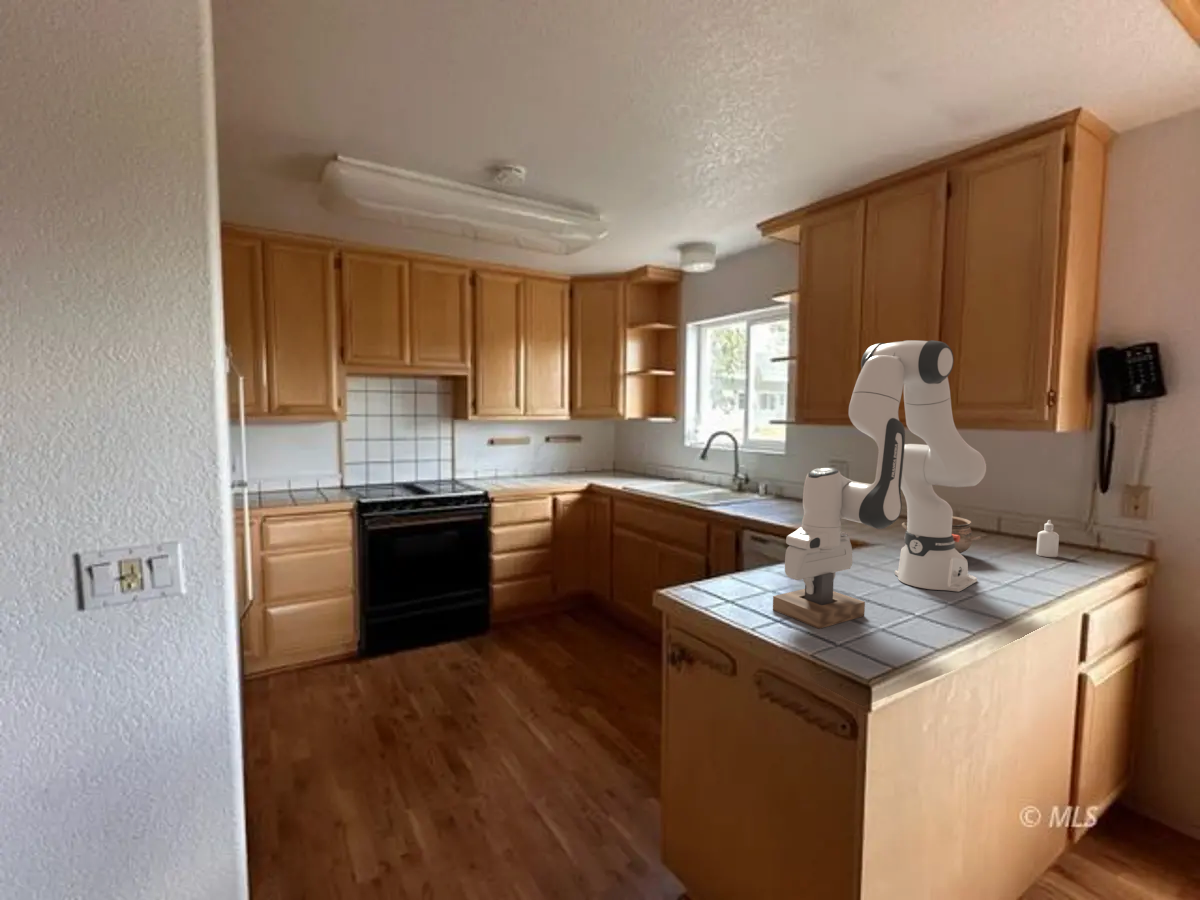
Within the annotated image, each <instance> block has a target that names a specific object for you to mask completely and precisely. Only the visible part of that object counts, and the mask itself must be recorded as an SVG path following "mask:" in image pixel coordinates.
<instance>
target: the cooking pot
mask: <svg viewBox="0 0 1200 900" xmlns="http://www.w3.org/2000/svg"><path fill="white" fill-rule="evenodd" d="M970 524H972V521H971V520H969V519H968V518H963V517H959V516H954V515H953V518H952V534H954V535H959V536H960V540H959V542H955V541H954V542H955V549H956V550H957V551H958V552H959V553H960V554H962V553H964V552H966V551H967V550H969V548H970V547H971V545H973V541H978V540H981V539H982V536H973V533H972V532H973V531H972V528H971V527H970ZM901 527H902V528H904V529H905V531H906V530H907V522H902V523H901Z"/></svg>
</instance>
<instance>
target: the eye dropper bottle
mask: <svg viewBox="0 0 1200 900" xmlns="http://www.w3.org/2000/svg"><path fill="white" fill-rule="evenodd" d="M1043 529H1044V530H1041V531H1039V532H1037V539H1036V551H1035V554H1036V555H1037V556H1039V557H1046V558H1057V557H1058V556H1059V543H1060V542H1059V541H1060V535H1059V534H1058V532H1056V531H1054V524H1053V523H1052V520H1051V519H1048V520H1047V522H1046V523H1044V524H1043Z"/></svg>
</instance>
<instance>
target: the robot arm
mask: <svg viewBox="0 0 1200 900" xmlns="http://www.w3.org/2000/svg"><path fill="white" fill-rule="evenodd" d="M954 361H955V360H954V353H953V350H952V349H951V347H950V346H949V345H948V344H947V343H946V342H943V341H940V340H939V341H938V340H933V339H932V340H914V339H913V340H911V339H910V340H908V339H907V340H903V341H893V342H887V343H885V342H879V343H875V344H873V345H870V346H869V347H868V348H867V349H866V350H865V352H864V353H863V354H862V357H861V361H860V368H861V370H860V371H859V373H858V376H857V379H856V381H855V385H854V388H853V391H852V395H851V399H850V402H849V405H848V418H849V420H850V422H851V423H852V425H853V427H855V428H856V429H857V430H858V431H859V432H861V433H863V434H865V435H866V436H868V437H869V438H871V439H872V440H873V441H875V443H876V446H877V448H878V454H877V462H876V463H877V464H876V472H875V479H874V481H873V482H872V483H866V482H860V481H856V480H852V479H850V478H848V477H846V476H844V475H843V474H841V471H840V470H839V469H838V468H834V467H820V468H819V467H817V468H814V469H812V470H810V471H809V472H807V474H806V475H805V479H804V483H803V489H802V491H803V492H802V508H803V517H802V520H801V526H799V528H796V530H795V531H792V532H791V533H790V534H788V535H786V540H785V541H786V542H785V543H786V544H787V545H789V546H787V548H786V550H785V555H784V557H785V558H784V573H785V575H786V576H787V578H790V579H792V580H795V581H801V580H802V581H803V583H804V586H805V585H806V592H807V593H808V594H815V593H816V587H815V586H814V585H813V582H812V581H814V577H815V576H819V575H822V574H827V573H834V579H835V578H836V573H838V572H842V571H846V570H847V571H848V570H850V569H851V567H852V565H853V548H852V544H851V537H850V535H849V534H848V533H847V532H846V531H842V523H841V519H842V520H843V519H844V520H848V521H851V522H855V523H860V524H863V525H865V526H868V527H872V528H874V529H877V530H882V529H885V528H888V527H889V526H891V525H893V524H894V523H895V522H896V521H897V520H898V519H899V518H900V517H901V516H900V515H901V513H902V505H903V504H902V494H903V495H904V498H905V503H906V511H907V513H906V514H907V515H906V516H907V517H906V518H907V519H906V521H907V522H906V523H907V530H906V529H905V532H904V537H903V538H904V544H905V545H904V546H902V547H901V549H900V555H899V562H898V567H897V568H898V569H896V570H894V575H895V576H897V579H898V580H899V582H901V583H903V584H906V585H909V586H912V587H915V588H920V589H927V590H936V591H937V590H938V591H951V592H961V591H963V590H965V589H967V588H968V587H970V586H971V585H973V584H975V583H977V582H978V578H977V577H976V576H974V575H972V574H969V563H968V559H966V557H964V556H963V554H962V553H959V552H958V551H957V550H956V549H955V542H959V540H960V536H959V535H954V534H952V518H953V516H954V511H953V509H952V506H951V505H950V504H949V502H947V501H946V500H945V499H943V498H941V497H940V496H939V495H938V494H937V493H936V492H935V490H934V487H933V485H934V486H942V487H950V488H966V487H975V486H977V485H978V484H979V483H980V482H981V481H982V480H984V478H985V475H986V473H987V463H986V460H985V457H984V456H983V455H982V453H981V452H980V451H978V450H976V449H975V448H974V447H972V446H971V445H970V444H968V443H967V442H966V441H965V439H964V438H963V437H962V435H961V434H960V433H959V431H958V429H957V427H956V424H955V422H954V417H953V416H954V415H953V409H952V399H951V398H952V397H951V389H950V382H949V378H948V376H949V375H950V374H951V372H952V371H953V367H954ZM902 394H903V402H904V413H905V423H906V427H907V428H908V430H909V432H911V433H912V434H913V435H915V436H917V437H918V438H920V439H922V440H923V441H924V442H925V443H926V444H920V443H906V431H905V425H904V424H903V422H902V421H901V420H900V418H899V407H900V403H901V399H902ZM901 491H902V492H901ZM901 493H902V494H901ZM954 541H955V542H954Z"/></svg>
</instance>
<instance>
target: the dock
mask: <svg viewBox="0 0 1200 900" xmlns="http://www.w3.org/2000/svg"><path fill="white" fill-rule="evenodd" d="M865 605H866V602H865V601H863V600H861V599H857V598H855V597H851V596H849V595H846V594H842V593H840V592H837V591H834V590H833V603H829V604H826V605H819V604H817V603H814V602H811V601H808V600H806V599H805V588H803V589H798V590H794V591H789V592H785V593H781V594H777V595H773V596H772V610H773V611H774V612H777V613H779V614H782V615H784V616H787V617H789V618H792V619H794V620H796V621H799V622H801V623H804V624H806V625H808V626H811V627H813V628H815V629H819V630H820V629H823V628H827V627H830V626H834V625H838V624H842V623H844V622H849V621H852V620H855V619H859V618H862V617H865V610H866V609H865V607H866V606H865Z"/></svg>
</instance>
